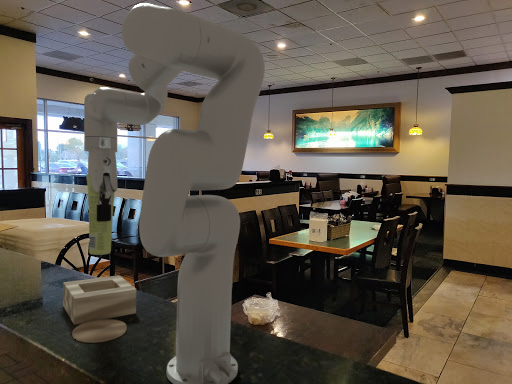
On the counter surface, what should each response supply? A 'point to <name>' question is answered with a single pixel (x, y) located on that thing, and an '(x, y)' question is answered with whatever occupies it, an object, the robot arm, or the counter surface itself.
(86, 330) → the disc
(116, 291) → the socket block
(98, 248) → the tube
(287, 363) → the counter surface
